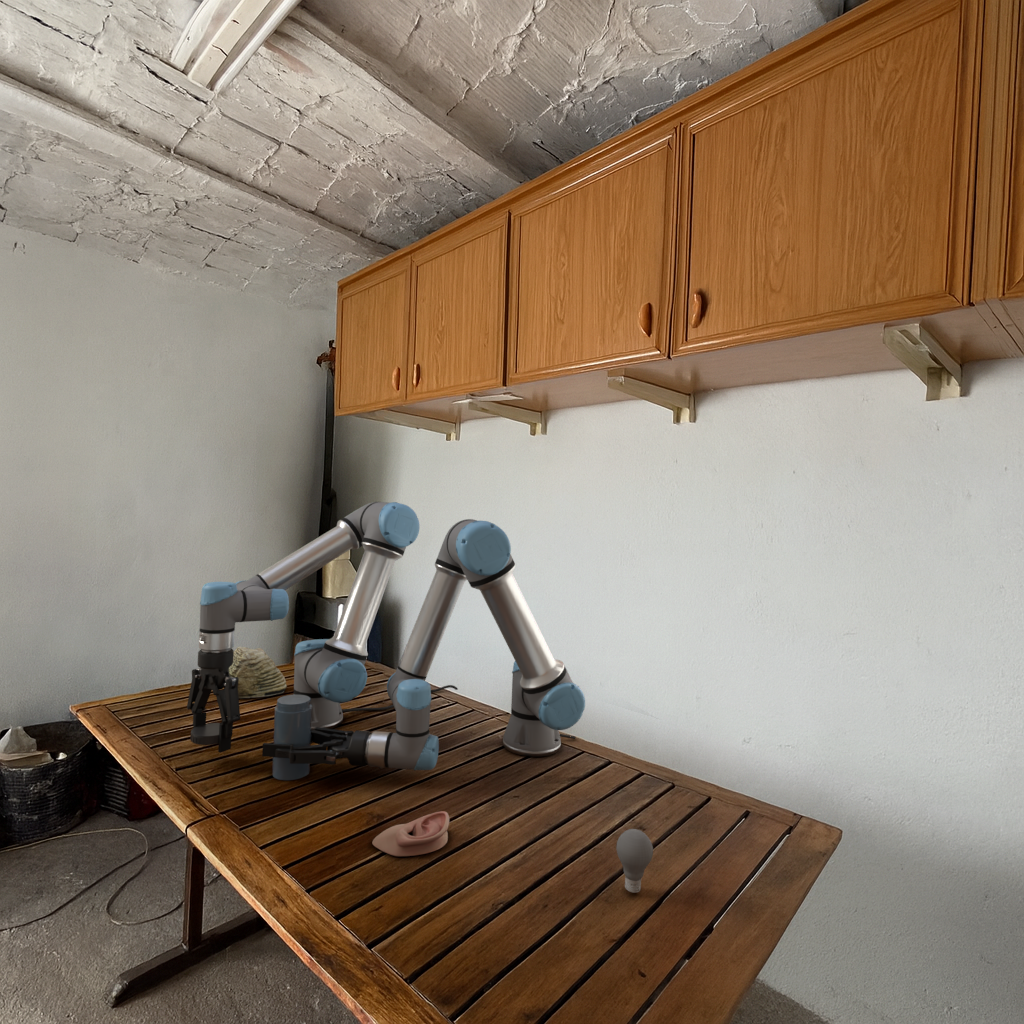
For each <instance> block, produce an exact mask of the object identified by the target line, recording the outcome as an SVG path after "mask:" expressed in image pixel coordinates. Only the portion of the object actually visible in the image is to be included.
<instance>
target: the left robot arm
mask: <svg viewBox="0 0 1024 1024" xmlns="http://www.w3.org/2000/svg"><path fill="white" fill-rule="evenodd" d="M420 526H421V525H420V520H419V518H418V515H417V513H416V512H415V511H414V510H413V508H412V507H410V506H409V505H407V504H404V503H400V502H396V501H391V502H387V501H373V502H369V503H366V504H364V505H362V506H360V507H359V508H357V509H355V510H354V511H352V512H351V513H349V514H347V515H346V516H344V517H342V518H341V519H339V520H338V521H337V523H336V526H335V527H333V528H331V529H330V530H328V531H326V532H325V533H323V534H321V535H320V536H318V537H317V538H315V539H313V540H311V541H310V542H308V543H307V544H305V545H303V546H302V547H300V548H298V549H296V550H295V551H293V552H291V553H290V554H288V555H287V556H285V557H283V558H282V559H280V560H279V561H278V560H277V562H275V563H273V564H272V565H270V566H269V567H267V568H265V569H264V570H261V571H260V572H259V573H257V574H255V575H253V576H252V577H250V578H248V579H246V580H238V581H236V582H232V581H211V582H210V581H209V582H206V583H205V584H204V585H203V586H202V587H201V595H200V602H199V606H200V607H199V631H198V632H199V636H198V649H199V650H198V652H197V667H198V668H194V669H191V682H190V687H189V694H188V699H187V703H186V704H187V705H186V709H187V710H190V711H191V714H192V729H193V728H195V727H197V726H200V725H204V724H207V712H206V711H207V708H206V706H207V704H208V701H209V699H210V696H211V693H213V695H214V696H215V697H216V702H217V707H218V710H219V714H220V718H221V722H219V723H220V725H219V743H218V744H217V746H218V749H217V752H218V753H224V752H227V751H229V750H231V749H232V737H233V733H234V732H233V731H234V730H233V729H234V723H235V722H238V721H241V711H240V710H241V709H240V698H239V697H238V682H239V678H238V677H234V678H233V677H231V676H230V674H229V667H230V666H231V665H232V664H233V654H234V651H235V650H234V649H233V648H234V647H235V638H236V637H235V635H236V633H235V632H236V623H248V622H265V621H270V622H273V621H276V620H283V619H285V618H286V617H287V615H288V613H289V609H290V599H289V595H288V592H287V591H286V590H288V589H290V588H291V587H293V586H294V585H296V584H298V583H299V582H301V581H303V580H304V579H306V578H307V577H309V576H311V575H312V574H314V573H316V572H317V571H318V570H320V569H321V568H323V567H325V566H326V565H328V564H330V563H331V562H332V561H334V560H336V559H338V558H339V557H341V556H342V555H344V554H345V553H347V552H349V551H350V550H359V549H360V548H362V547H363V549H364V552H363V554H362V558H361V560H360V563H359V566H358V569H357V571H356V574H355V577H354V580H353V581H352V584H351V588H350V591H349V593H348V596H347V599H346V601H345V604H344V607H343V609H342V613H341V615H340V618H339V621H338V623H337V625H336V629H335V632H334V635H333V636H332V637H330V638H323V639H322V638H319V639H307V640H303V641H299V642H297V644H296V645H295V650H294V653H293V654H294V655H293V656H294V672H293V695H306V696H308V697H310V699H311V701H310V704H311V705H312V722H311V730H314V728H315V727H321V728H328V729H335V728H337V727H339V726H340V725H342V723H343V722H344V714H343V713H348V712H349V713H350V712H369V711H370V712H372V711H373V712H375V711H376V712H377V711H386V710H390V709H392V708H394V705H393V704H390V705H387V706H383V707H382V706H381V707H359V708H358V707H356V708H355V707H354V708H342V706H341V704H342V703H343V704H344V703H347V702H351V700H354V699H356V698H357V697H358V696H359V695H360V694H361V693H362V692H363V691H364V689H365V687H366V684H367V682H368V681H367V680H368V672H367V669H366V666H365V664H366V662H367V659H368V656H369V653H368V651H367V649H366V644H367V641H368V639H369V636H370V633H371V630H372V628H373V625H374V622H375V619H376V616H377V613H378V610H379V608H380V605H381V602H382V600H383V596H384V593H385V591H386V588H387V585H388V582H389V580H390V576H391V574H392V571H393V568H394V565H395V563H396V561H398V560H400V559H402V558H403V557H404V554H405V551H406V549H407V547H409V546H410V545H412V544H414V542H415V541H416V540H417V539H418V536H419V533H420ZM449 688H450V689H451V688H452V689H454V690H455V691H457V690H459V688H458V687H457V686H456V685H453V684H447V685H444V686H441V687H439V688H434V689H431V693H437V692H439V691H442V690H445V689H449ZM231 736H232V737H231Z"/></svg>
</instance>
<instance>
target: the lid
mask: <svg viewBox="0 0 1024 1024" xmlns="http://www.w3.org/2000/svg"><path fill="white" fill-rule="evenodd" d="M220 723H221V722H211V723H209V722H208V723H206V724H204V725H200V726H197V727H195V728H193V727H192V729H191V731H190V738H189V740H190V742H191V743H192V744H195V745H199V746H212V745H219V725H220ZM232 737H233V735H232V736H231V738H232Z"/></svg>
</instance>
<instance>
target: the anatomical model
mask: <svg viewBox="0 0 1024 1024" xmlns="http://www.w3.org/2000/svg"><path fill="white" fill-rule="evenodd" d="M449 827H450V816H449V813H448V812H447V811H442V810H441V811H436V812H432V813H429V814H426V815H424V816H421V817H418V818H416V819H414V820H412V821H410V822H407V823H401V824H395V825H393V826H390V827H389V828H387V829H385V830H383V831H381V833H379V834H378V835H376V836H375V837H374V838H373V839H372V845H373V847H375V848H376V849H378V850H380V851H381V852H383V853H385V854H388V855H390V856H394V857H410V856H411V857H412V856H419V855H425V854H429V853H433V852H435V851H438V850H440V849H442V848H443V847H445V846H446V845H447V843H448V840H449V833H448V829H449Z"/></svg>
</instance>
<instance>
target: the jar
mask: <svg viewBox="0 0 1024 1024" xmlns="http://www.w3.org/2000/svg"><path fill="white" fill-rule="evenodd" d="M276 701H277V702H276V706H275V707H274V713H273V714H274V717H273V718H274V719H273V742H272V744H286V745H291V744H293V747H299V746H310V745H312V744H311V722H312V705H311V704H310V701H311V699H310V697H308V696H306V695H294V694H288V695H283V696H280V697H279V698H277V700H276ZM310 770H311V764H290V758H278V757H272V770H271V771H272V772H271V775H272V777H273V778H274V779H276V780H279V781H294V780H299V779H303V778H304V777H306V776H308V775H309V774H310V772H311V771H310Z"/></svg>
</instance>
